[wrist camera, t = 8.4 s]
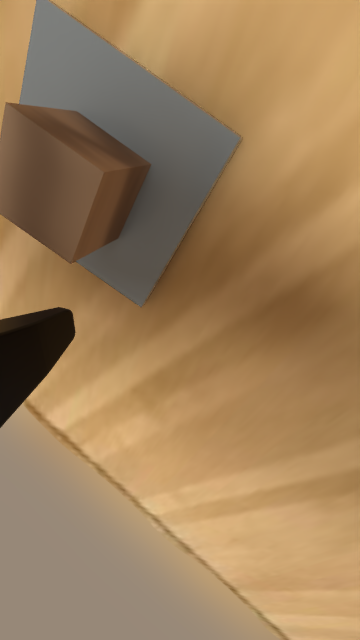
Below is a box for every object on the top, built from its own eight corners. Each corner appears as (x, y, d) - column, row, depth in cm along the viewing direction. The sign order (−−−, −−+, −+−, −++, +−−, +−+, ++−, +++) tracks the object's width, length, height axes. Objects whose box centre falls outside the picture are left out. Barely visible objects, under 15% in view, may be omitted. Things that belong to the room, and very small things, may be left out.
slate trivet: (242, 137, 16) (240, 137, 15) (145, 302, 23) (141, 307, 22) (48, -1, 16) (37, -7, 15) (10, 207, 23) (1, 209, 22)
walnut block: (151, 164, 17) (104, 172, 13) (118, 238, 20) (70, 263, 16) (76, 111, 17) (5, 102, 13) (54, 192, 20) (-10, 206, 16)
